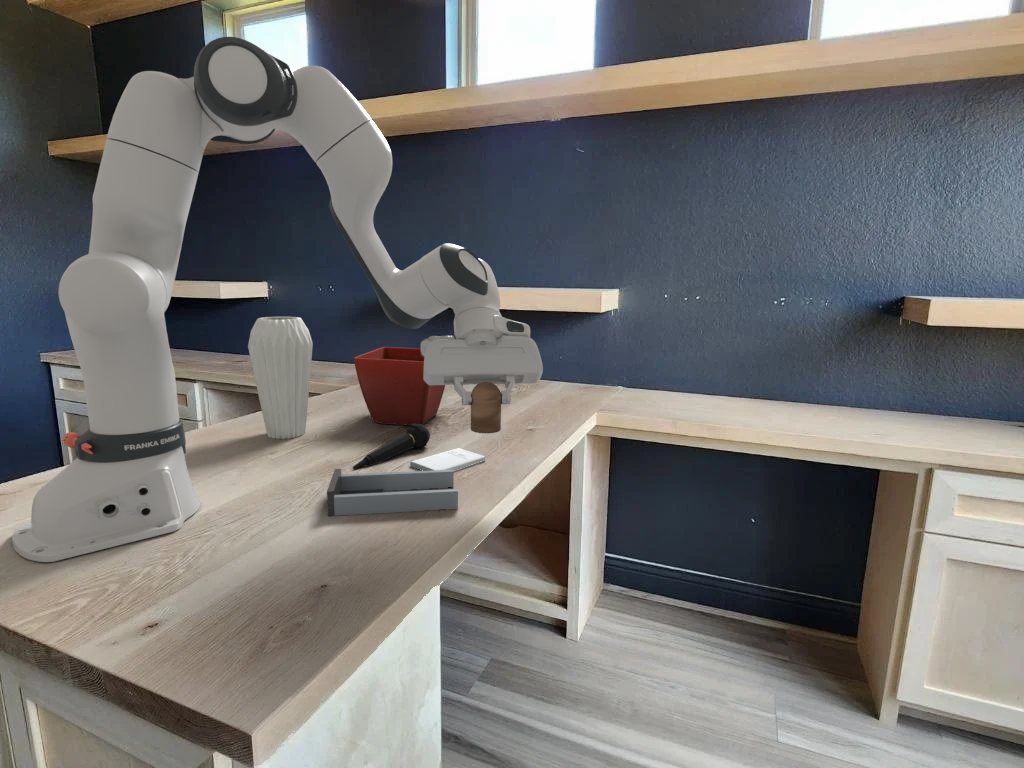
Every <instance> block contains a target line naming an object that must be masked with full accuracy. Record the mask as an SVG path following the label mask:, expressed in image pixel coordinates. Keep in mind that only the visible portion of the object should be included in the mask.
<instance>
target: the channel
mask: <svg viewBox="0 0 1024 768" xmlns="http://www.w3.org/2000/svg"><path fill="white" fill-rule="evenodd" d="M454 472H455V471H453V470H431V471H421V470H415V471H414V470H412V471H411V470H410V471H409V470H408V471H391V472H389V471H388V472H387V471H386V472H369V473H362V472H361V473H347V474H346V473H344V474H342V469H341V468H334V470H333V473H332V477H331V479H330V482H329V484H328V488H327V490H326V499H327V500H326V502H327V503H326V504H327V516H328V517H335V516H336V517H337V516H354V515H373V514H388V513H392V514H393V513H409V512H410V511H411V512H423V511H425V510H426V512H427V510H428V511H440V510H439V509H446V510H455V509H454V508H458V509H459V490H458V488H455V487H454V483H455V481H454ZM448 487H454V488H448ZM429 488H438V489H429ZM410 489H418V490H410ZM388 490H397V491H388ZM383 491H384V492H383Z"/></svg>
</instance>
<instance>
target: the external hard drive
mask: <svg viewBox="0 0 1024 768" xmlns="http://www.w3.org/2000/svg"><path fill="white" fill-rule="evenodd" d="M483 460H485V461H486V456H485V455H482V454H480V453H475V452H472V451H470V450H467V449H463V448H460V447H457V448H454V449H450V450H446V451H443V452H440V453H436V454H433V455H429V456H426V457H421V458H418V459H415V460H411V461H410V462H409V464H410V465H411V466H413V467H416V468H418V469H421V470H423V471H431V470H453V471H454V470H457V469H460V468H463V469H465V468H464V467H466V466H469V465H471V464H474V463H477V462H480V461H483ZM410 465H409V466H410ZM411 466H410V467H411ZM413 467H412V468H413ZM469 467H470V466H469ZM416 468H415V469H416ZM466 468H467V467H466ZM418 469H417V470H418ZM421 470H420V471H421ZM460 470H461V469H460ZM457 471H458V470H457ZM454 472H455V471H454Z"/></svg>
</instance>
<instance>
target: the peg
mask: <svg viewBox="0 0 1024 768" xmlns="http://www.w3.org/2000/svg"><path fill="white" fill-rule="evenodd" d="M471 397H472V403H471V405H470V431H472V432H474V433H477V434H495V433H499V432H500V431H501V430H502V404H501V390H500V388H499V387H498V386H497V384H493V383H491V382H481V383H479V384H475V385H474V387H473V388H472V390H471Z"/></svg>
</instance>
